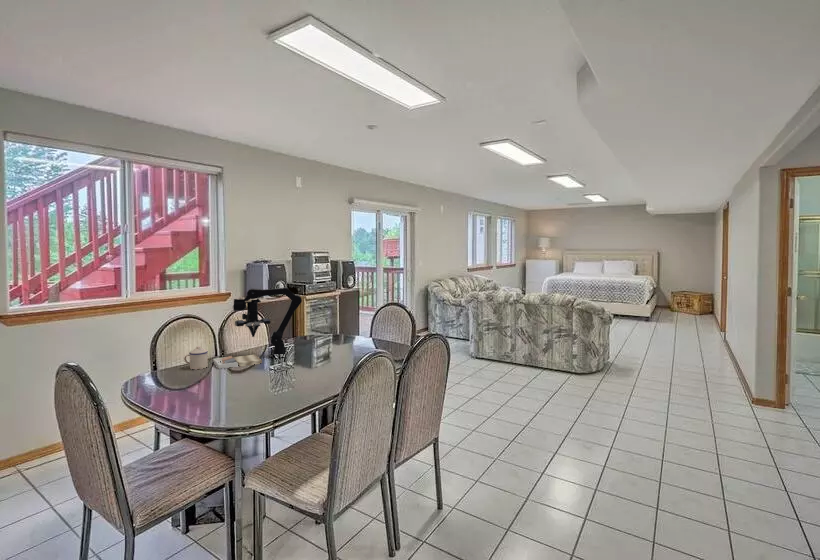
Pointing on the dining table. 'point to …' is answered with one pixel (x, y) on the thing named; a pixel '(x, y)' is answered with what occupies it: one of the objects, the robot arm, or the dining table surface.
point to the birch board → (247, 360)
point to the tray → (222, 365)
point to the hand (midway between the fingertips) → (253, 336)
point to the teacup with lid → (197, 358)
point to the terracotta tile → (226, 358)
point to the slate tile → (230, 361)
